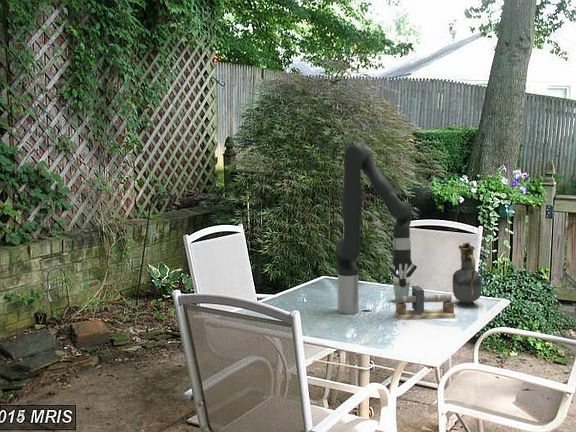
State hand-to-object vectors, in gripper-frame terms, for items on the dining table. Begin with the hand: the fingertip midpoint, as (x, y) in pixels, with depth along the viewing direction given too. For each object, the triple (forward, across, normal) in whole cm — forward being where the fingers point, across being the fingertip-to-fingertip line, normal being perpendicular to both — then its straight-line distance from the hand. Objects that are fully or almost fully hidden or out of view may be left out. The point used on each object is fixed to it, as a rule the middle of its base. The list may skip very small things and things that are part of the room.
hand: (402, 286), depth 268 cm
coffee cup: (+14, +6, +26) cm, 30 cm away
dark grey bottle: (+14, +34, +15) cm, 40 cm away
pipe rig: (+13, +9, 0) cm, 16 cm away
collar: (+11, +6, 0) cm, 12 cm away
